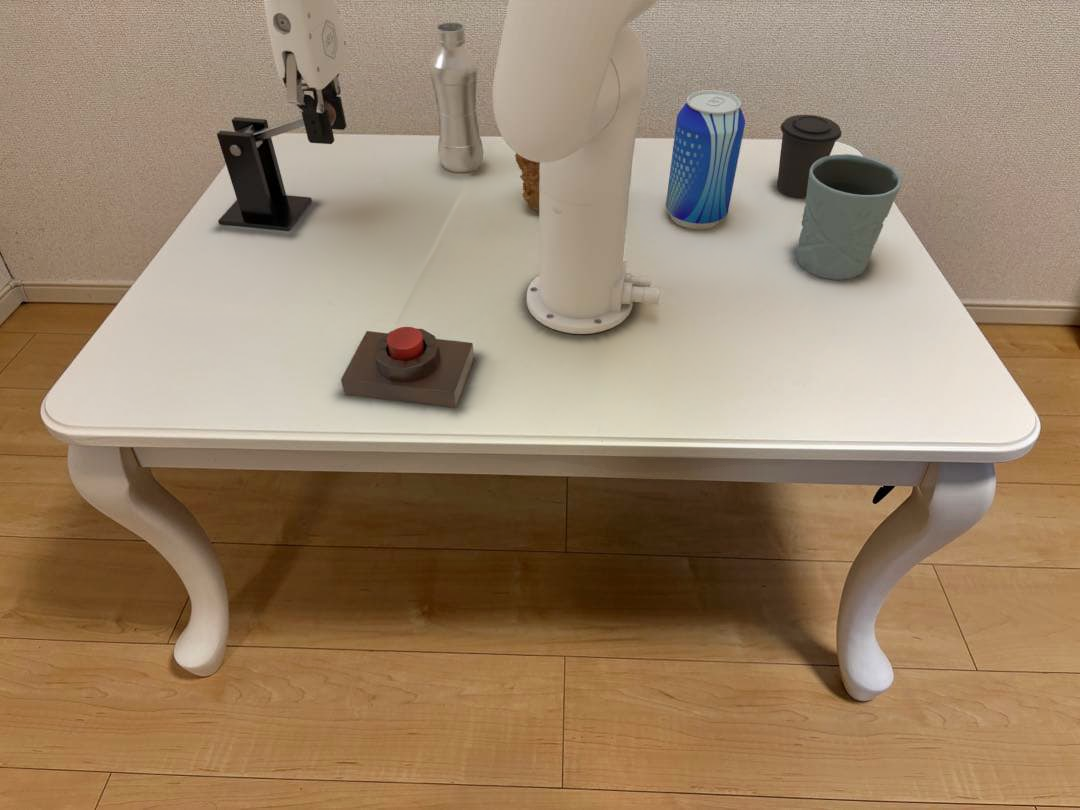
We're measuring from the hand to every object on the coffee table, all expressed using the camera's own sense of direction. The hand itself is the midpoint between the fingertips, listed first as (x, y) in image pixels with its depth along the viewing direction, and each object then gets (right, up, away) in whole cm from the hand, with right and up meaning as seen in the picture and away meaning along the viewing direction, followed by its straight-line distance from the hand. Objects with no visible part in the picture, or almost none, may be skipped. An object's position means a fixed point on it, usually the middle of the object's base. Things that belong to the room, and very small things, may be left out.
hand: (327, 133), depth 95 cm
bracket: (-11, -8, +10) cm, 17 cm away
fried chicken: (+30, -6, +12) cm, 33 cm away
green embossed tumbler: (+63, -15, +2) cm, 65 cm away
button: (+13, -28, -15) cm, 34 cm away
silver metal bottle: (+15, +2, +20) cm, 25 cm away
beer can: (+48, -8, +10) cm, 49 cm away
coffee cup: (+63, -3, +15) cm, 65 cm away
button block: (+13, -30, -13) cm, 35 cm away
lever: (-5, 0, +1) cm, 5 cm away
